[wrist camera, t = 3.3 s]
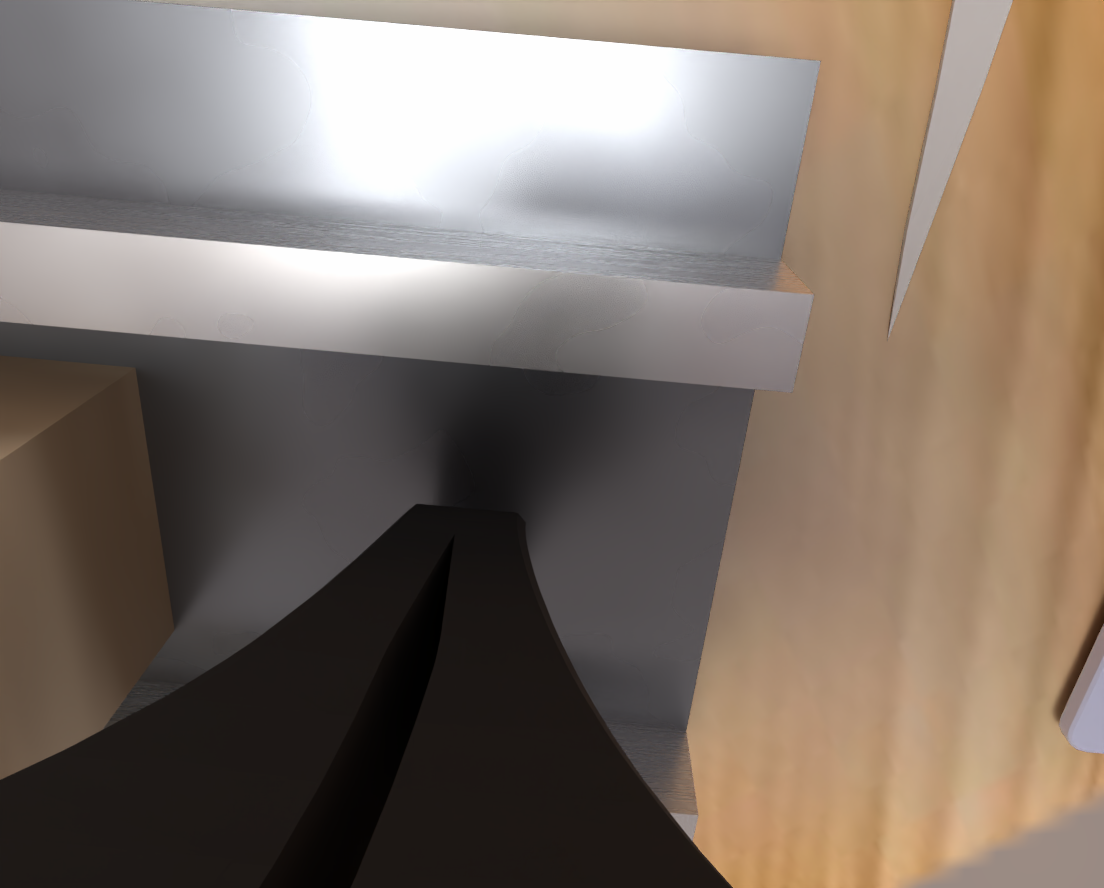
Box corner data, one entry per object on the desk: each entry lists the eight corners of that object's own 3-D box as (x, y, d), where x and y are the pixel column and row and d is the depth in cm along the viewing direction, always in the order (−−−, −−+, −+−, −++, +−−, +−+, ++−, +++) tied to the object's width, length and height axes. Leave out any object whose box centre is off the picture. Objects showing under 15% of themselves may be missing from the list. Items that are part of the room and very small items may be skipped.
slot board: (763, 60, 11) (866, 61, 7) (647, 730, 16) (666, 958, 12) (-423, -46, 11) (-1016, -105, 7) (-159, 656, 16) (-410, 857, 12)
